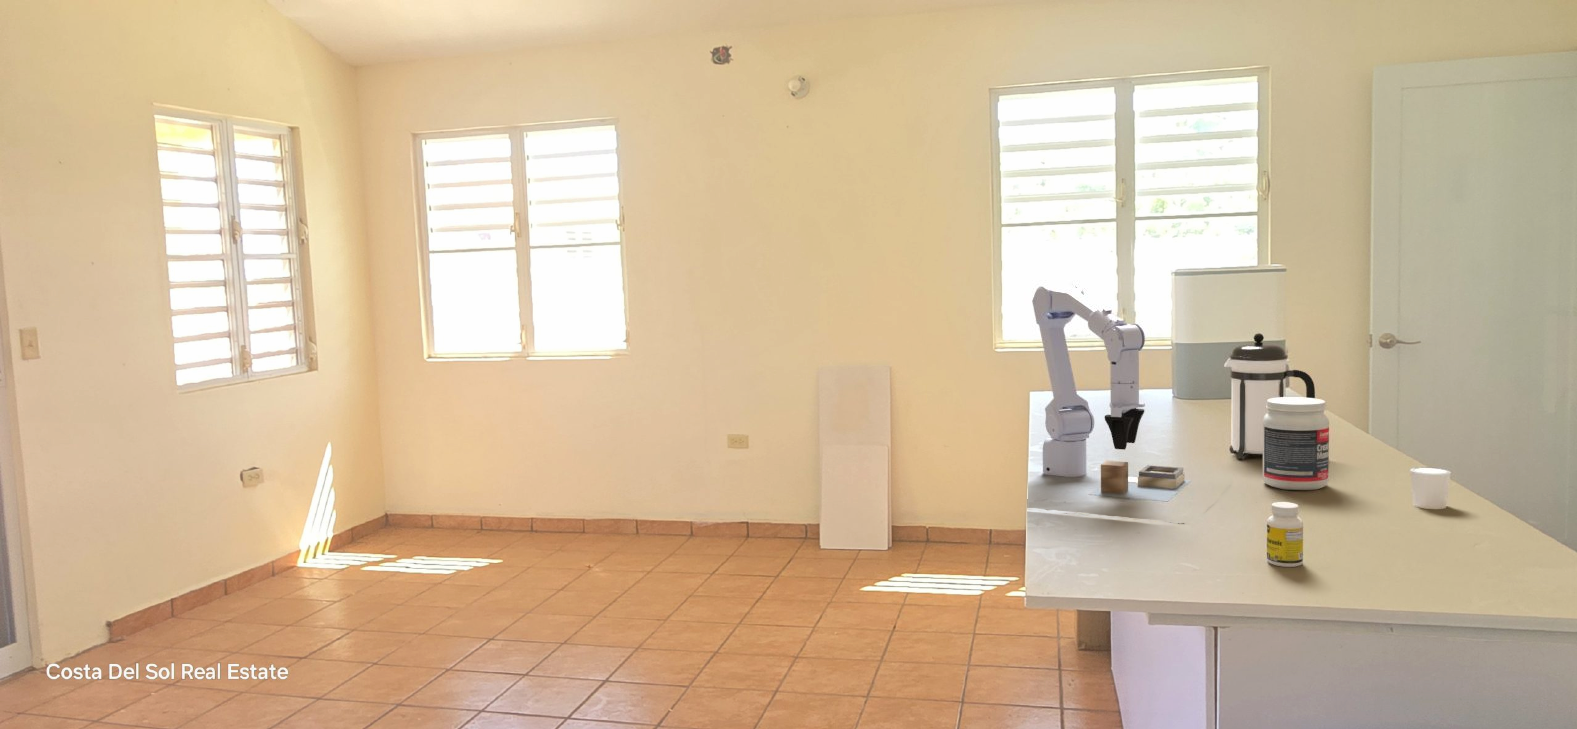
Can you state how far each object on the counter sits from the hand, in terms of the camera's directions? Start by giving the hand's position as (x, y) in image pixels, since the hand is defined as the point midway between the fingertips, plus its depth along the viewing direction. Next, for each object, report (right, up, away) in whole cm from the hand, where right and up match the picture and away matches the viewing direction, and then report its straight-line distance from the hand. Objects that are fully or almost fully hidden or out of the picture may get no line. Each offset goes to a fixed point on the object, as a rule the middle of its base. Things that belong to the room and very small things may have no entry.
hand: (1124, 445), depth 227 cm
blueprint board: (+5, -10, +3) cm, 11 cm away
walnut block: (-2, -10, 0) cm, 10 cm away
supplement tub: (+37, -9, +3) cm, 38 cm away
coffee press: (+45, -5, +35) cm, 57 cm away
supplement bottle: (+10, -16, -51) cm, 54 cm away
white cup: (+54, -11, -18) cm, 58 cm away
